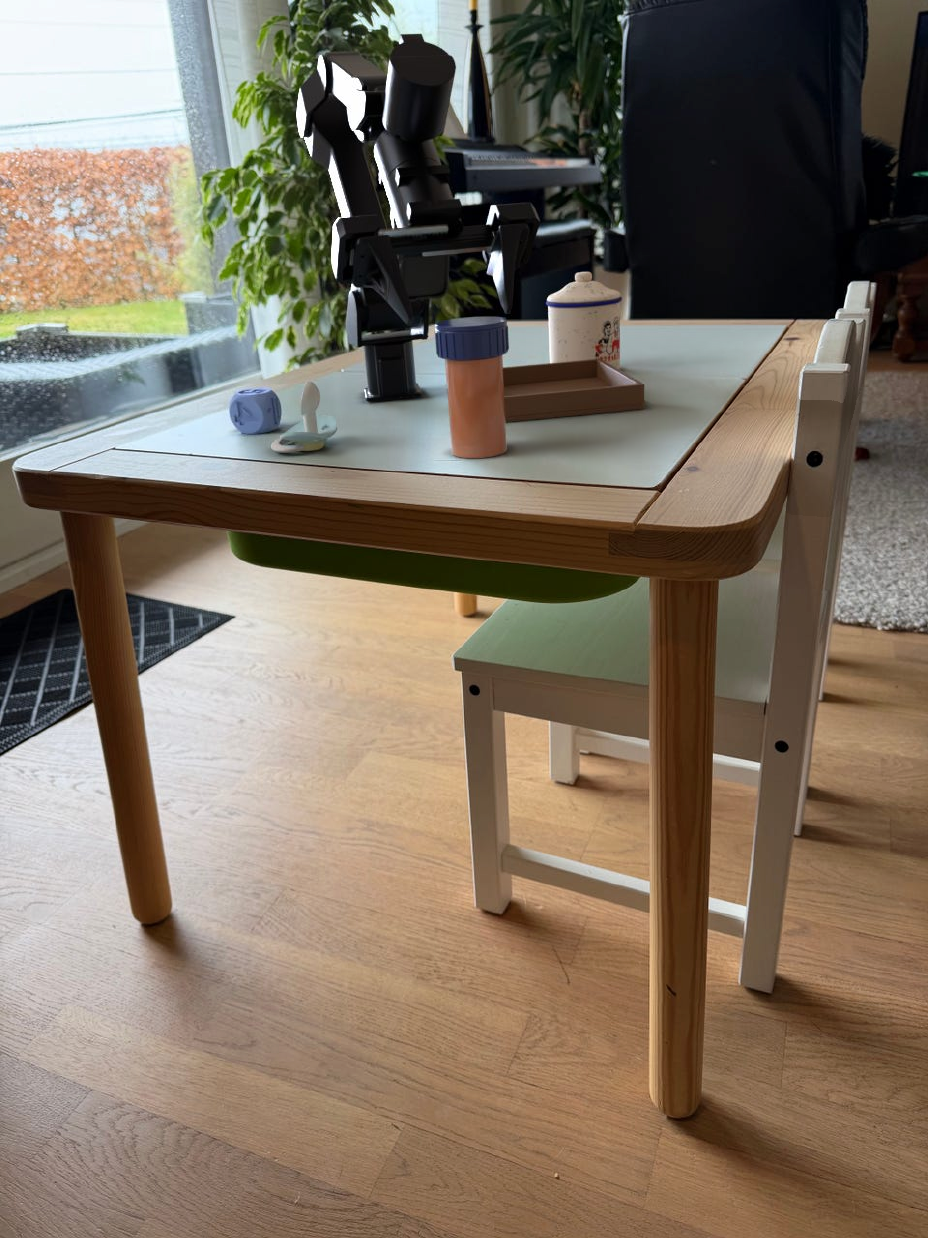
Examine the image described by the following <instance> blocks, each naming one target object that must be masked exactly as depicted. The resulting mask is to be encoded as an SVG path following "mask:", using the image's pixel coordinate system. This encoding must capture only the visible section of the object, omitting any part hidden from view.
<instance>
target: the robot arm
mask: <svg viewBox="0 0 928 1238" xmlns="http://www.w3.org/2000/svg"><path fill="white" fill-rule="evenodd" d="M456 71H457V64H456V61H455V58H454V57H453V56H452V55H450V54H449V53H448V51H446V50H444V49H443V48H441V47H440V46H438V45H436V44H435V43H432V42H431V43H430V42H428V41H426V40H425V39H424V36H423V34H422V33H401V34H400V35H399V42H398V44H397V45H396V46H395V47H394V48H392V50H391V52H390V54H389V60H388V69H387V72H385V71H383V70H382V69H381V68H379V67H378V66H376V65H375V64H373V63H372V62H370V61H369V60H368V59H367V55H366V54H365V53H360V52H359V51H358V50H357V51H355V50H354V51H329V52H328V51H326V52H325V53H324V54H320V55H319V56H318V61H317V68H316V70H314V72H312V74H311V75H309V77H308V78H307V79H306V80H305V81H303V83H302V84H301V85H300V87H299V92H298V99H297V107H296V121H297V128H298V133H299V136H300V138H301V139H304V140H305V143H306V146H307V149H308V152H309V154H310V157H311V159H312V160H314V161H315V162H316V163H318V164H319V165H321V166H322V167H323V168H324V169H326V170H327V171H328V173H329V175H330V178H331V182H332V186H333V189H334V193H335V197H336V200H337V203H338V207H339V210H340V213H341V216H340V217H337V219H336V220H335V221H334V223H333V225H332V240H331V255H330V259H331V267H332V271H333V274H334V279H335V281H336V282H337V283H338V284H340V285H343V286H344V285H351V287H350V291H349V293H348V299H347V307H346V308H347V309H346V318H345V331H346V336H347V341H348V344H350V345H352V346H353V347H356V348H362V347H363V354H364V363H365V373H366V381H367V382H366V383H367V387H365V388H364V395H365V401H366V402H376V401H386V400H399V399H408V398H419V397H423V391H422V389H421V387H420V385H419V383H417V377H416V367H415V355H414V344H413V341H418V340H422V341H425V340H428V338H429V331H430V306H431V299H433V300H437V299H441V298H443V297H445V296H446V295H447V293H448V292H449V276H450V275H449V273H450V257H456V256H457V255H458V254H466V253H477V252H482V257H483V259H484V262H485V264H486V265H487V266H488V267H487V271H486V275H488V276H492V278H493V282H494V285H495V288H496V289H495V290H496V292H497V296H498V299H499V303H500V306H501V308H502V309H503V311H504V314H507V315H508V314H511V311H512V308H513V301H514V300H513V299H514V298H513V297H514V284H515V283H514V281H515V272H516V271H517V270H518V269H519V268H522V267H524V266H525V265H526V264H528V262H529V259H530V256H531V253H532V250H533V246H534V243H535V240H536V238H537V234H538V232H539V229H540V225H541V220H540V216H539V214H538V212H537V210H536V208H535V207H534V205H533V204H532V203H531V202H519V203H506V204H492V205H490V209H489V213H488V216H487V219H486V220H487V221H486V224H477V225H467V226H464V225H463V221H462V219H461V215H462V213H463V212H462V211H463V205H462V201H461V199H460V198H454V196H453V193H452V189H451V188H450V185H449V182H450V177H451V171H450V167H449V164H442V163H441V160H440V159H441V158H440V156H439V154H438V150H437V148H436V146H435V145H436V144H435V142H434V140H435V138H437V137H443V135H444V133H445V128H446V123H447V118H448V112H449V109H450V108H449V107H450V103H451V97H452V92H453V86H454V81H455V76H456ZM370 143H375V144H374V147H373V148H374V149H373V153H374V158H375V162H376V164H377V167H378V171H379V172H378V181H379V182H378V183H379V184H380V186H384V189H385V192H386V196H387V198H388V201H389V202H388V203H389V205H390V215H389V217H390V221H391V228H388V226H387V222H386V219H385V215H384V212H383V208H382V206H381V205H382V204H381V203H380V199H379V196H378V193H377V189H376V185H375V183H374V179H373V176H372V172H371V168H370V167H369V162H368V160H367V159H368V158H367V155H368V148H369V147H368V146H369V144H370ZM406 329H407V330H406ZM395 330H397V331H395ZM398 330H399V331H398ZM388 331H390V332H388ZM378 332H381V333H378ZM362 333H365V334H364V335H362ZM372 333H373V334H372Z"/></svg>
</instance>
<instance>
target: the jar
mask: <svg viewBox="0 0 928 1238" xmlns="http://www.w3.org/2000/svg"><path fill="white" fill-rule="evenodd" d="M444 364H445V377H446V390H447V391H446V392H447V407H448V419H449V432H450V433H449V434H450V446H451V447H450V448H451V455H453V456H455V457H457V458H461V459H462V458H463V459H484V458H492V457H496V456H500V455H502V454H504V453H506V452H507V451H508V439H507V422H506V418H505V397H504V377H503V367H504V357H503V355H500V356H496V357H490V358H483V359H472V360H449V359H444Z"/></svg>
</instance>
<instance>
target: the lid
mask: <svg viewBox="0 0 928 1238" xmlns="http://www.w3.org/2000/svg"><path fill="white" fill-rule="evenodd" d="M434 326H435V327H434V328H435V330H434V338H435V339H434V340H435V351H436V352H435V353H436V356H437V357H438V358H439V359H443V360H445V359H449V360H472V359H483V358H490V357H496V356H500V355H502V356H503V355H505V354H508V352H509V350H510V343H509V341H510V339H509V326H508V320H507V318H506V317H501V316H470V317H458V318H450V319H445V320H441V321H438V322H436V323H435V324H434Z"/></svg>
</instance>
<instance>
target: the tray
mask: <svg viewBox="0 0 928 1238" xmlns="http://www.w3.org/2000/svg"><path fill="white" fill-rule="evenodd" d="M503 377H504V397H505V418H506V423H511V422H522V421H533V420H534V421H535V420H542V419H552V418H563V417H575V416H583V415H595V414H605V413H615V412H625V411H636V410H637V411H638V410H644V409H645V384H644V383H643V382H641V381H640V380H638V379H636V378H635V377H633V376H631V375H629V374H627V373H626V372H624V371H622V370H621V369H620V368H619V369H617V368H616V367H614V366H612V365H610V364H609V363H607V362H605V361H604V360H602V359H591V360H580V361H569V362H558V363H550V362H548V363H536V364H526V365H515V366H503Z"/></svg>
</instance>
